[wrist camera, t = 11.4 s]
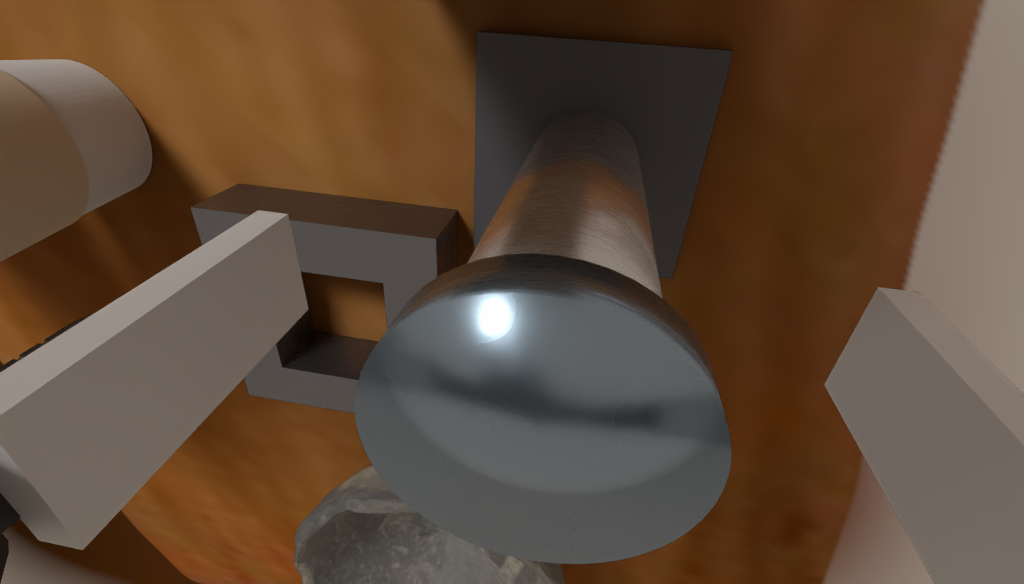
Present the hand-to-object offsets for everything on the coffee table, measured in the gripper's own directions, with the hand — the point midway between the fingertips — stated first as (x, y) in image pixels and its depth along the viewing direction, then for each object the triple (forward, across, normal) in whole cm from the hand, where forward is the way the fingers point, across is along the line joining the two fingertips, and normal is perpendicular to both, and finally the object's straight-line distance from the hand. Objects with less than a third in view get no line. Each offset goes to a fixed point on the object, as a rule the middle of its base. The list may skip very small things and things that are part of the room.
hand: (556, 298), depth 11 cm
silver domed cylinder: (+12, 0, -1) cm, 12 cm away
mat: (+12, 0, -1) cm, 12 cm away
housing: (+12, -12, -10) cm, 20 cm away
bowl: (+12, -6, -26) cm, 30 cm away
